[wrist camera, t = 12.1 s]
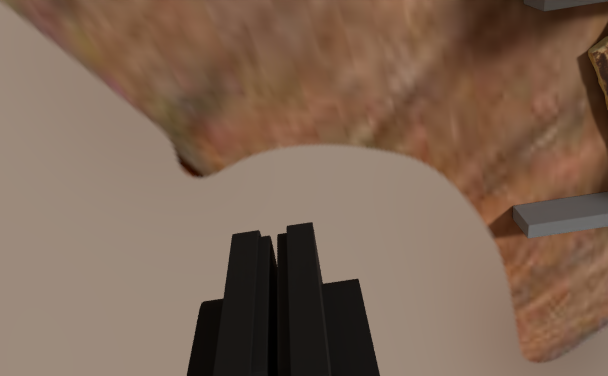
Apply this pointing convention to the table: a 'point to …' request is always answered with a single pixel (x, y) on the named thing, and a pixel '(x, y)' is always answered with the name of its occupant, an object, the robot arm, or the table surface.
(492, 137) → the table surface
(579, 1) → the box
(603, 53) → the shard
